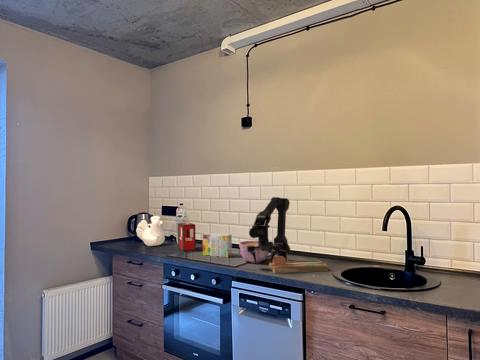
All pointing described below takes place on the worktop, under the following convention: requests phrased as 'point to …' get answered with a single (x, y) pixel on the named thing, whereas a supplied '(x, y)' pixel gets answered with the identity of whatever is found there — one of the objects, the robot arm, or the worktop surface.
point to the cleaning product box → (186, 237)
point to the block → (279, 261)
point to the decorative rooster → (151, 231)
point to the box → (299, 266)
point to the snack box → (217, 245)
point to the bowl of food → (248, 256)
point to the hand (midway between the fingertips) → (263, 263)
